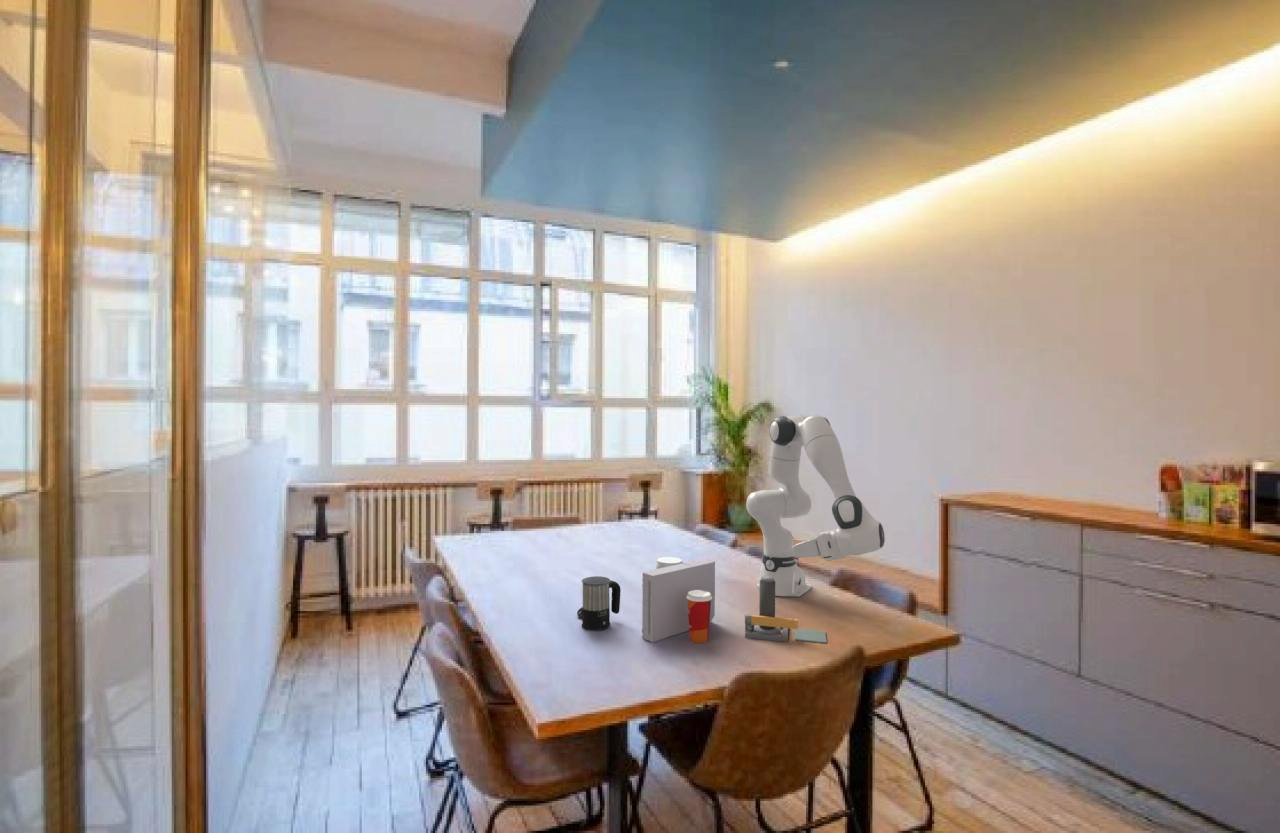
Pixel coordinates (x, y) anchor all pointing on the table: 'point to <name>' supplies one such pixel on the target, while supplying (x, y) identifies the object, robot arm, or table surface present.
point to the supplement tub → (667, 562)
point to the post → (748, 627)
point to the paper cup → (699, 615)
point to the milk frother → (598, 602)
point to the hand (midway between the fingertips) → (785, 554)
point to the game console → (673, 597)
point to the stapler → (771, 621)
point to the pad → (810, 635)
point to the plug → (767, 604)
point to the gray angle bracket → (768, 635)
